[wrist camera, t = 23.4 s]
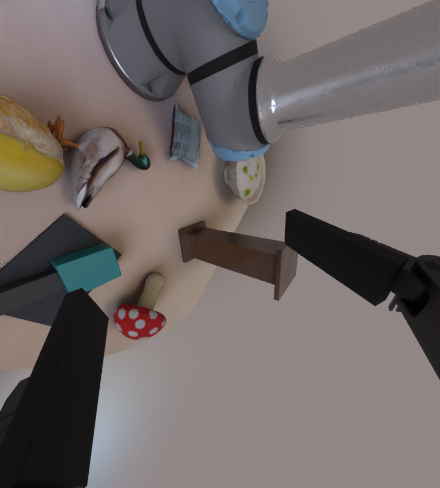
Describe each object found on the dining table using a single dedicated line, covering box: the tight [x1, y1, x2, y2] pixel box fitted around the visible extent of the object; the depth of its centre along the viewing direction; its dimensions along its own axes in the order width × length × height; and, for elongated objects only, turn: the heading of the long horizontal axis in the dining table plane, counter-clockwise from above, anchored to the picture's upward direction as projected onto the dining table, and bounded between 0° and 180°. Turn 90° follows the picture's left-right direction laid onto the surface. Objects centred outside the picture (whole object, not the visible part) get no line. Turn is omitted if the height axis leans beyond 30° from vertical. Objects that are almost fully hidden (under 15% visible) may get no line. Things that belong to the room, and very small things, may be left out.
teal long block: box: [0, 243, 121, 316], centre depth 28 cm, size 18×6×4 cm, turn 97°
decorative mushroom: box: [114, 272, 166, 340], centre depth 41 cm, size 11×11×15 cm
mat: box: [0, 214, 122, 326], centre depth 30 cm, size 16×12×1 cm
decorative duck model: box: [47, 115, 150, 210], centre depth 30 cm, size 15×8×15 cm
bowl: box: [224, 154, 265, 205], centre depth 60 cm, size 19×19×10 cm
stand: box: [178, 221, 298, 301], centre depth 46 cm, size 11×11×29 cm
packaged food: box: [170, 103, 202, 170], centre depth 43 cm, size 9×12×5 cm
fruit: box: [0, 94, 65, 192], centre depth 20 cm, size 10×11×10 cm
